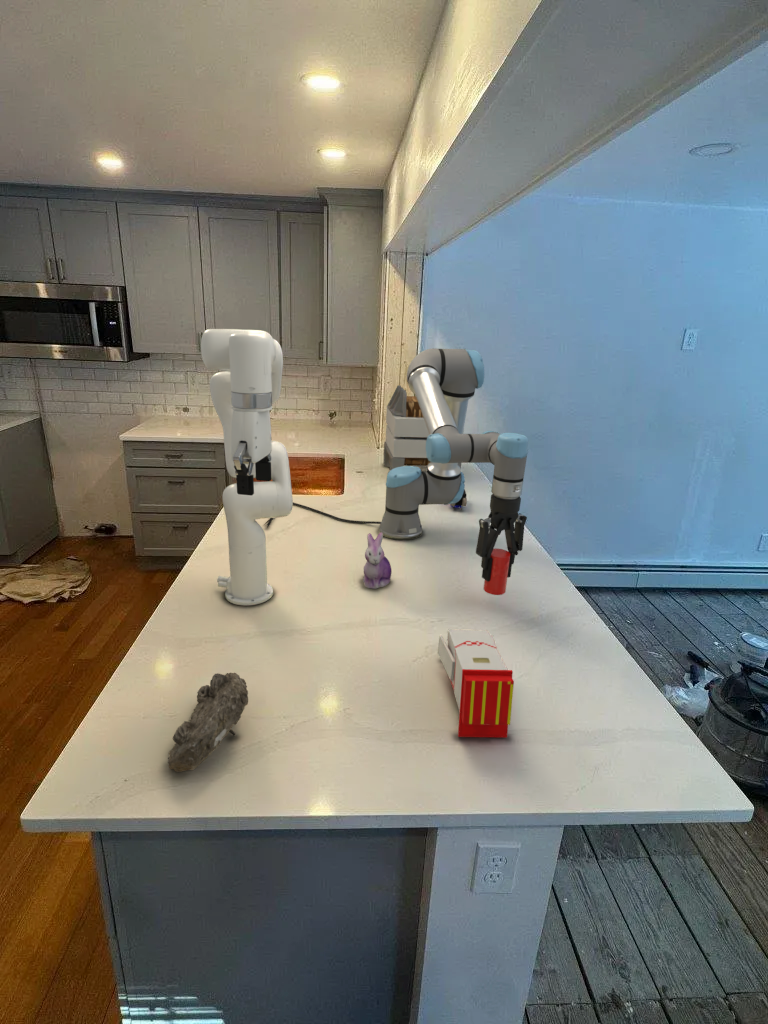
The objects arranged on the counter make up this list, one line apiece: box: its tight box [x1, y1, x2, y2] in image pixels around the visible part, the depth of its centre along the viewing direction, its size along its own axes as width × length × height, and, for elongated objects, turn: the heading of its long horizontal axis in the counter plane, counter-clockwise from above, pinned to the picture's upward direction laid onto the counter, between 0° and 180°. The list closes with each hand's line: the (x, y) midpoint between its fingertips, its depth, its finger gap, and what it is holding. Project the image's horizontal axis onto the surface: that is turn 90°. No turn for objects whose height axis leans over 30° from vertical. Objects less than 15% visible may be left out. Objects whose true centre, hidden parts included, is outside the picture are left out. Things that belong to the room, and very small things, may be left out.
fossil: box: [167, 672, 249, 773], centre depth 102 cm, size 22×10×15 cm
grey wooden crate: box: [383, 384, 465, 471], centre depth 268 cm, size 34×33×41 cm
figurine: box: [362, 532, 392, 589], centre depth 161 cm, size 9×10×15 cm
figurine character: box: [449, 488, 468, 511], centre depth 230 cm, size 7×8×15 cm
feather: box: [263, 518, 274, 529], centre depth 211 cm, size 2×28×2 cm
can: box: [483, 547, 510, 596], centre depth 151 cm, size 6×6×11 cm
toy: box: [437, 628, 515, 738], centre depth 117 cm, size 12×13×30 cm
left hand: (255, 487), depth 113 cm, fingers open, 9 cm apart
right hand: (496, 577), depth 151 cm, fingers closed on can, 6 cm apart
